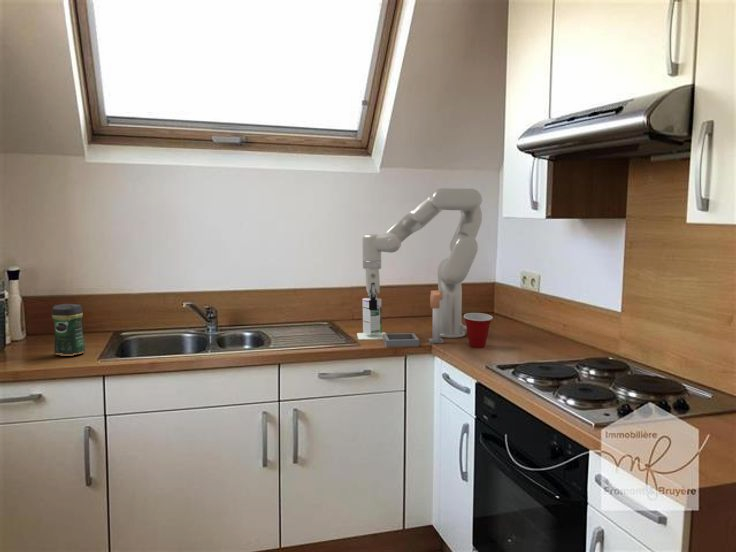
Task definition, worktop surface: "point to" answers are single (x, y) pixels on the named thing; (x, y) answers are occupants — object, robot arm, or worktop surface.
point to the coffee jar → (68, 328)
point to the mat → (370, 336)
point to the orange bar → (435, 299)
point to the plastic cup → (477, 328)
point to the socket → (411, 338)
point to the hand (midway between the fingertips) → (372, 308)
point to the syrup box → (372, 318)
